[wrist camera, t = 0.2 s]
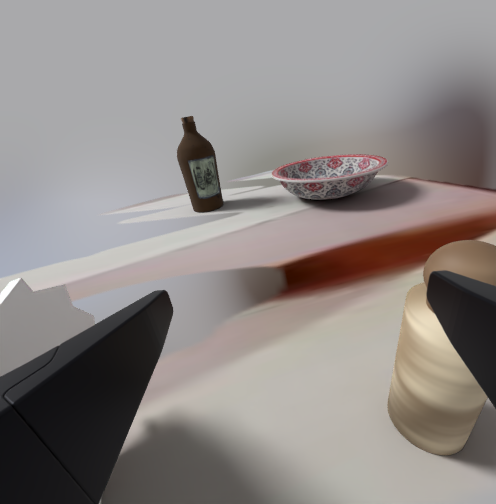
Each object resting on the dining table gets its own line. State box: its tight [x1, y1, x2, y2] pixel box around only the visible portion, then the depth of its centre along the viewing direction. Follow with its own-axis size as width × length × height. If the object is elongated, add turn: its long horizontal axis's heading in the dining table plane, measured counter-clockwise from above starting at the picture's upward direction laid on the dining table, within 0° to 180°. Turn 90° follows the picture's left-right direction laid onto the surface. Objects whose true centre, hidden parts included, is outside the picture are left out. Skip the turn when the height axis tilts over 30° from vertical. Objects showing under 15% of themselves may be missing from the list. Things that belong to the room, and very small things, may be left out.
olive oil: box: [177, 116, 223, 212], centre depth 72 cm, size 11×11×25 cm
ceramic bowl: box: [271, 155, 388, 200], centre depth 68 cm, size 29×29×8 cm
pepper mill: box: [388, 240, 496, 455], centre depth 16 cm, size 5×5×15 cm
